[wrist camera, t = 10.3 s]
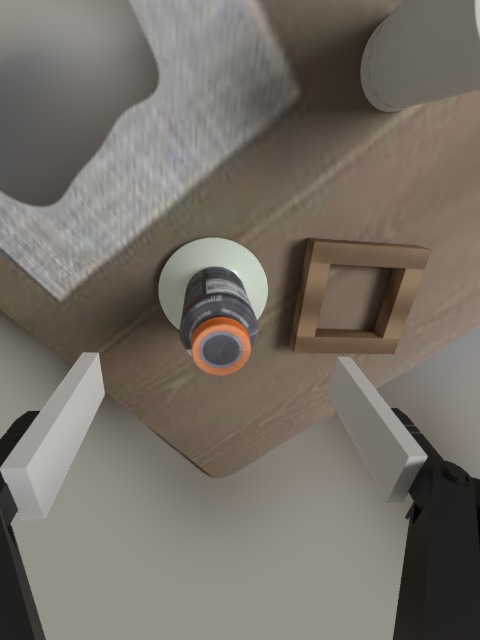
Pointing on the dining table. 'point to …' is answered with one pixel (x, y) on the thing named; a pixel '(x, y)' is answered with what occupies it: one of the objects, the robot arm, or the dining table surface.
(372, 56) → the cup
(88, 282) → the dining table surface
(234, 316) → the pill bottle
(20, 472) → the robot arm
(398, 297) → the open wooden frame
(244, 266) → the pale green rounded part
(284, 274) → the dining table surface
